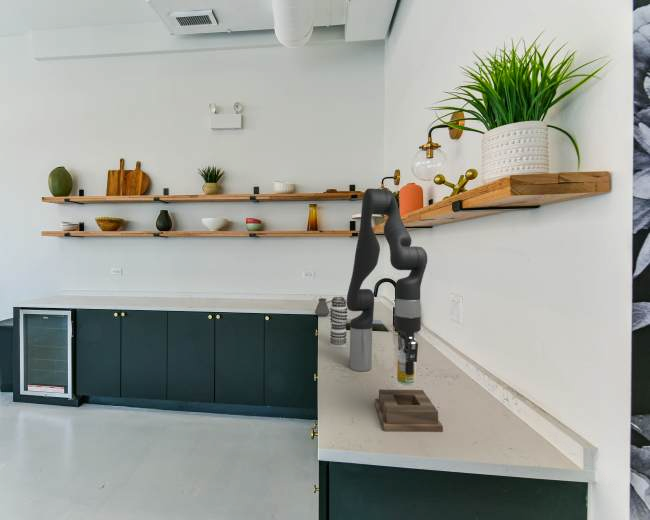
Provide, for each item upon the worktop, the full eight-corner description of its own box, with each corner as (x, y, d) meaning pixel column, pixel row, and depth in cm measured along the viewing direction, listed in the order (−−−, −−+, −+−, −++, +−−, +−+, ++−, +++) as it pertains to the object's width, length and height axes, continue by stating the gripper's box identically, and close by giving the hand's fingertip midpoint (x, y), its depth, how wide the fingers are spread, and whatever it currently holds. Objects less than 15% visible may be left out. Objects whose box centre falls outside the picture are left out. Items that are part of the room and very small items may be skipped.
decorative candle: (346, 347, 163) (347, 299, 162) (328, 346, 164) (328, 298, 164) (347, 342, 172) (348, 296, 171) (330, 342, 173) (331, 296, 173)
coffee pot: (313, 316, 240) (313, 297, 240) (315, 313, 252) (316, 295, 251) (342, 317, 238) (342, 297, 238) (342, 314, 249) (343, 295, 249)
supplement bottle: (402, 377, 99) (402, 345, 99) (418, 381, 95) (419, 349, 95) (394, 382, 95) (394, 349, 94) (411, 387, 91) (411, 353, 91)
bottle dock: (374, 403, 103) (375, 388, 103) (424, 403, 103) (424, 388, 103) (384, 431, 87) (384, 413, 87) (442, 431, 87) (443, 413, 87)
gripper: (390, 309, 102) (389, 362, 102) (400, 318, 87) (399, 380, 88) (413, 309, 102) (412, 362, 102) (428, 319, 87) (427, 380, 88)
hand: (406, 370), depth 95 cm, fingers closed on supplement bottle, 5 cm apart
